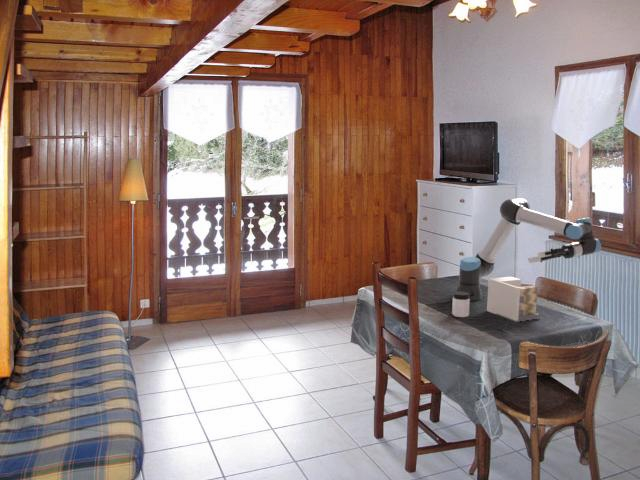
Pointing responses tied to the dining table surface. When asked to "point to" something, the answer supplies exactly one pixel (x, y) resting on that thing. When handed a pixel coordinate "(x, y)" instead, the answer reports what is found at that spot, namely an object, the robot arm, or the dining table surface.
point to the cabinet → (506, 299)
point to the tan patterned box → (528, 299)
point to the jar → (460, 304)
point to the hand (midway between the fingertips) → (533, 258)
